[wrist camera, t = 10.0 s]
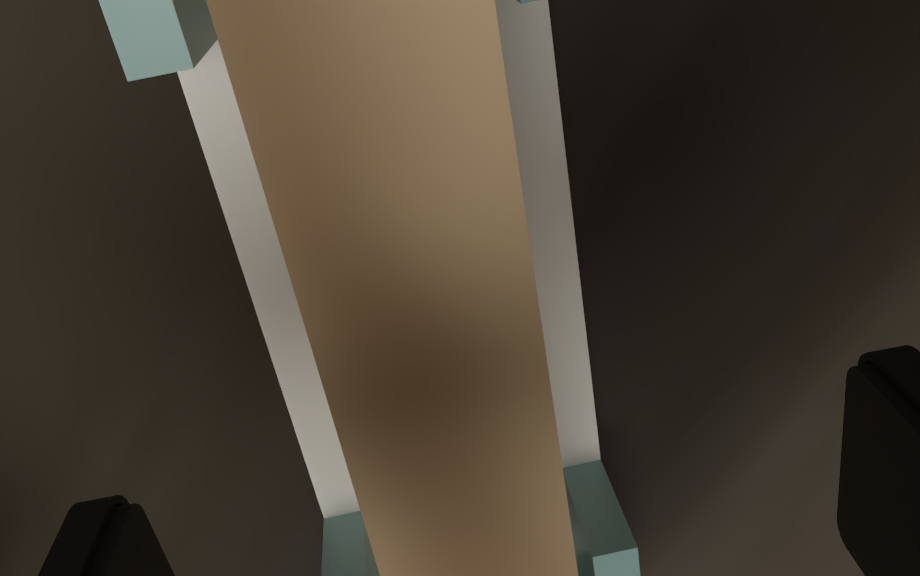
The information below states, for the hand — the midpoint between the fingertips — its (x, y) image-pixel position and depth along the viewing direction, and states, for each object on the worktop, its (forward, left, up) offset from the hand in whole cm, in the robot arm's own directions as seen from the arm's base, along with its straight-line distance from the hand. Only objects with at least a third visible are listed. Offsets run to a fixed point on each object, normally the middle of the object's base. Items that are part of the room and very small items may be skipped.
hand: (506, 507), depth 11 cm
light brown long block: (+1, 0, -8) cm, 8 cm away
